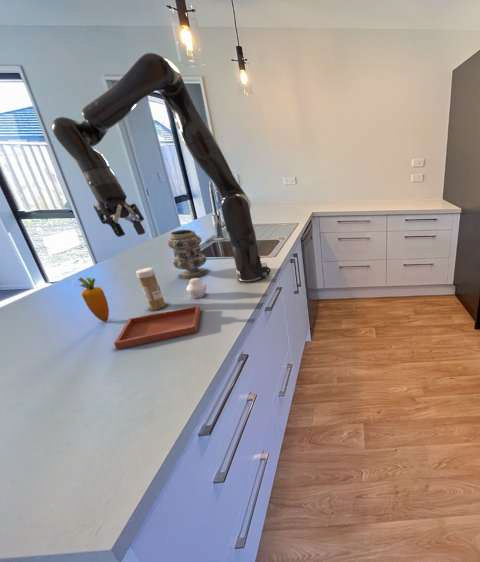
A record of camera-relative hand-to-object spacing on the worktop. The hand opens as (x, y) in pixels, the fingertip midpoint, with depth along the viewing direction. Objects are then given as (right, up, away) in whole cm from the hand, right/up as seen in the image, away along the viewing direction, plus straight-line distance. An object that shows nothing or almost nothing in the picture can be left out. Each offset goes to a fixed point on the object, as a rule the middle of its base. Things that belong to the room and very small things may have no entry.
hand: (132, 234), depth 97 cm
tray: (+17, -29, -10) cm, 35 cm away
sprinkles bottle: (+7, -24, +2) cm, 25 cm away
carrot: (-4, -28, -6) cm, 29 cm away
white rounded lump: (+17, -21, +9) cm, 28 cm away
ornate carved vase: (+3, -12, +29) cm, 31 cm away
